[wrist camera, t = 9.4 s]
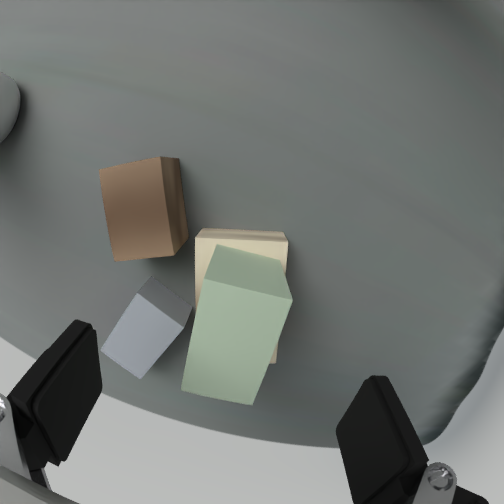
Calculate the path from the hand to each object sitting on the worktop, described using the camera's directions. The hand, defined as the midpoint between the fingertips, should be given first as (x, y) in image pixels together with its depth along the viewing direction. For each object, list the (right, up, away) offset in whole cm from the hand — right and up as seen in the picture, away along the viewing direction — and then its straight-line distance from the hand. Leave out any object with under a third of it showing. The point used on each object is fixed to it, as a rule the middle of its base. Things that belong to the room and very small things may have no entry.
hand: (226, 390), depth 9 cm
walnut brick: (-5, +8, +9) cm, 13 cm away
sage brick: (0, +2, +8) cm, 8 cm away
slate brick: (-7, 0, +11) cm, 13 cm away
